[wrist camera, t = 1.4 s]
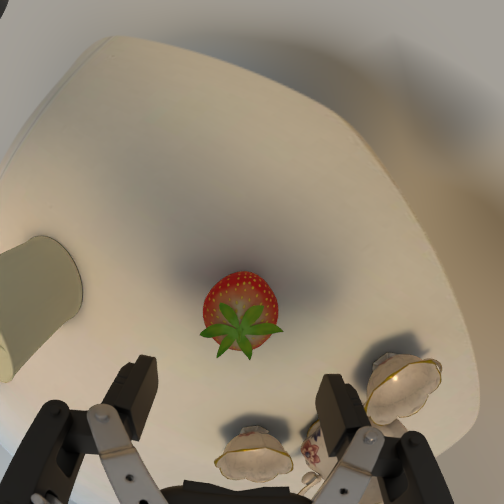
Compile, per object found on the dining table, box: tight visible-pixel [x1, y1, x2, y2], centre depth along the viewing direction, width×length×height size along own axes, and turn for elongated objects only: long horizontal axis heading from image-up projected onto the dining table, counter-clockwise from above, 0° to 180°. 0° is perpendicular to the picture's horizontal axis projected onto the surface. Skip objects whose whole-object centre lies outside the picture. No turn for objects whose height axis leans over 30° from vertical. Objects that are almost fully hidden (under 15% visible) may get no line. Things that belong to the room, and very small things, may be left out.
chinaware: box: [214, 352, 442, 504], centre depth 21 cm, size 28×17×17 cm, turn 130°
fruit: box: [200, 271, 283, 360], centre depth 19 cm, size 5×5×8 cm
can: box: [0, 236, 82, 383], centre depth 17 cm, size 9×9×12 cm
